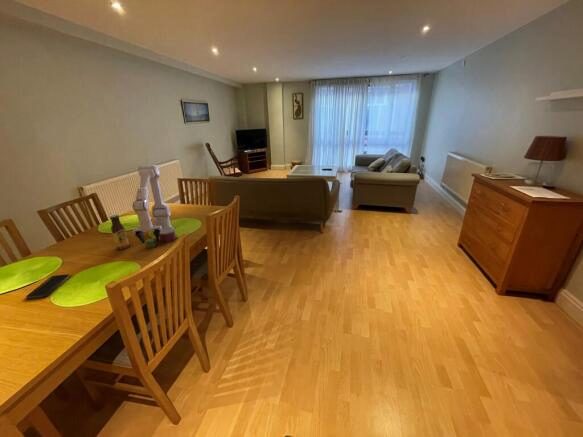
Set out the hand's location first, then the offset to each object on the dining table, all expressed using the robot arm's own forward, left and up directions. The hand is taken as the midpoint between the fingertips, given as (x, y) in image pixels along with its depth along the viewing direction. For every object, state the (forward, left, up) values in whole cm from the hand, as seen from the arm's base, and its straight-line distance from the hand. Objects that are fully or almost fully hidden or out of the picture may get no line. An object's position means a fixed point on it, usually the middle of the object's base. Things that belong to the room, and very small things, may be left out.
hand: (150, 241), depth 140 cm
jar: (+2, +10, -3) cm, 11 cm away
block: (0, 0, -3) cm, 3 cm away
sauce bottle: (-15, -6, -3) cm, 16 cm away
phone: (-14, -43, -3) cm, 45 cm away
